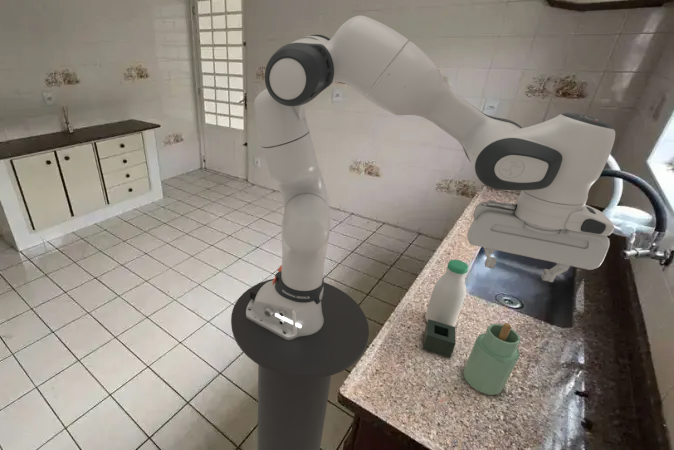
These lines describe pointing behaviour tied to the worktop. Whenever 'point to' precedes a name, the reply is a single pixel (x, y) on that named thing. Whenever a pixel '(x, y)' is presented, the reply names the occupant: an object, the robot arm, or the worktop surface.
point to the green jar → (492, 360)
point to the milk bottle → (448, 294)
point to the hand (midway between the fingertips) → (516, 272)
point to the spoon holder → (439, 338)
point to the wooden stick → (504, 331)
